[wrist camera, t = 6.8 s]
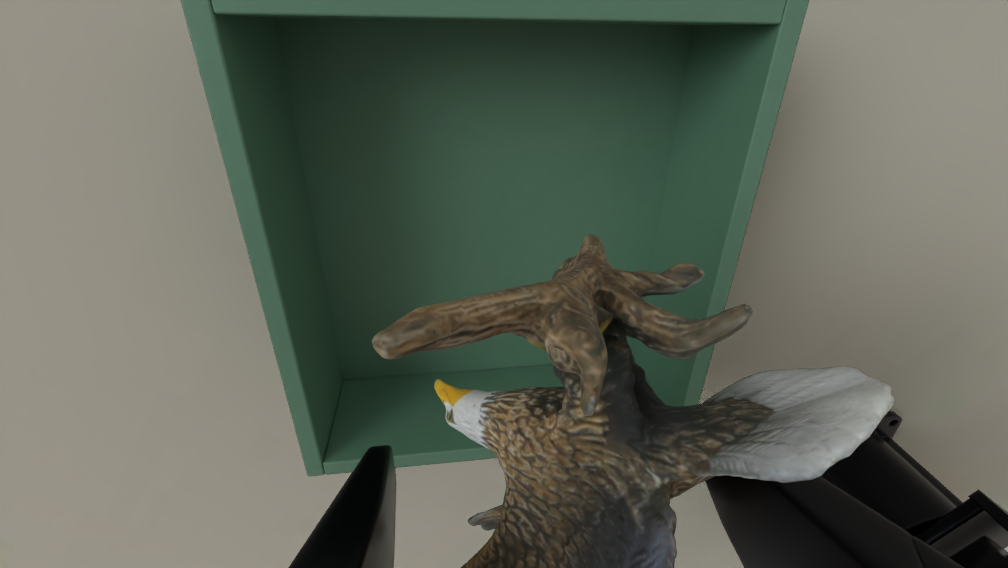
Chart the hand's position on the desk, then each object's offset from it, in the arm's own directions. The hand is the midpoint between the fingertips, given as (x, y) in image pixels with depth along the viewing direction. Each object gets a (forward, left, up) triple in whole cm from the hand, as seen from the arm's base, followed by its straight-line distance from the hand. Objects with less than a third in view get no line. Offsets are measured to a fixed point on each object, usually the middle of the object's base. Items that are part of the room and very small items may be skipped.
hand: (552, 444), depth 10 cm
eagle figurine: (0, 0, -2) cm, 2 cm away
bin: (0, -1, -11) cm, 11 cm away
